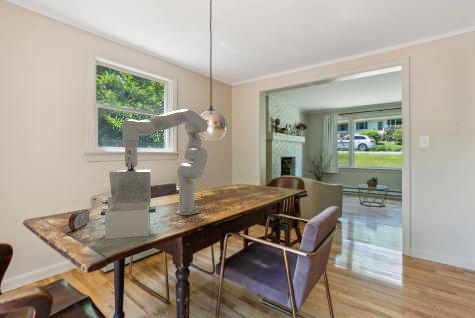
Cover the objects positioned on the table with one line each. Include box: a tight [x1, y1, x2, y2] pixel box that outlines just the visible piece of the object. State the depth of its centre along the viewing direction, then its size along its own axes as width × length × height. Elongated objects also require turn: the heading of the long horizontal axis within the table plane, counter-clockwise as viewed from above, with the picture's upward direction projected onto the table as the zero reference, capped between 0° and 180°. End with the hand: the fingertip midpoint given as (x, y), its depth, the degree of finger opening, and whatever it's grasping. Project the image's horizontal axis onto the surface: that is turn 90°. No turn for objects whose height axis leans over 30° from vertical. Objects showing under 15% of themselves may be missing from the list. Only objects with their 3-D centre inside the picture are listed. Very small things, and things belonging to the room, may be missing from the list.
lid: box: [108, 169, 152, 204], centre depth 126 cm, size 19×19×3 cm
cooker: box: [100, 202, 157, 240], centre depth 120 cm, size 24×18×12 cm
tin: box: [67, 209, 90, 231], centre depth 125 cm, size 15×3×8 cm, turn 5°
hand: (131, 180), depth 125 cm, fingers closed
